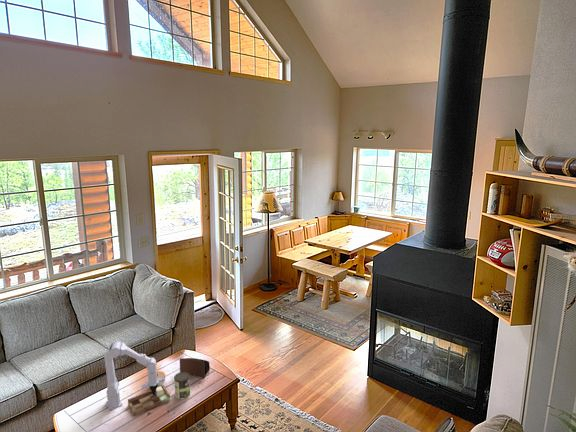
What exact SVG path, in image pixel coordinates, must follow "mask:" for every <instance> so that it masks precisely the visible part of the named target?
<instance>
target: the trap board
mask: <svg viewBox="0 0 576 432" xmlns="http://www.w3.org/2000/svg"><path fill="white" fill-rule="evenodd" d="M161 387H162V389H163V395H161V396H158V397H157V395H156V394H155V395H153V394H152V391H151V389H150V390H148V391H146V392H143V393H141V394H138V395H136V396H134V397H131V398H129V399H127V404H128V405H127V406H128V407H129V409H130V411H131V413H132V415H133V416H137V415H139V414H141V413H145V412H146V411H149V410H151V409H154V408H156V407H158V406H160V405H162V404H165V403H167V402H169V401H171V394H170V393H169V391H168V390H167V389H166V388H165V387H166V386H164V385H162V386H161ZM155 401H156V402H155Z"/></svg>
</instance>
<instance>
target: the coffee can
mask: <svg viewBox="0 0 576 432" xmlns="http://www.w3.org/2000/svg"><path fill="white" fill-rule="evenodd" d="M190 378H191V376H190V375H189V373H187V372H180V371H179V372H178V373H176V374H174V377H173V380H174V381H173V383H174V397H175V399H178V400H184V399H187V398H189V396H190V395H191V382H190Z"/></svg>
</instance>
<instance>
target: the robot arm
mask: <svg viewBox="0 0 576 432" xmlns="http://www.w3.org/2000/svg"><path fill="white" fill-rule="evenodd" d="M124 355H126V356H127V357H130V358H133V359H135V360H136V362H137V363H138V364H140V365H142V366H144V367H146V370H147V371H146V372H147V382H146V383H144V384H142V385H141V390H145V389H146V388H149V389H150V390H151V391H152V394H153V395H155V392H156V389H157V387H158V383H159V382H161V381H162V382H163V381H164V378H163V377H162V378H158V379H157V360H156V358H155V357H149V356H147V355H146V354H145V353H139V352H136V351H135V350H134V349H131V348H130V347H129V346H127V345H126V343H124V342H122V341H121V340H115V341H113V342H112V343H111V344H110V345H109V347H108V349H107V351H106V352H105V354H104V365H105V366H104V367H105V372H106V378H107V379H106V380H107V384H106V385H107V386H106V401H105V403H106V406H107V408H108V410H109V411H111V410H114V409H116V408H119V407H122V406H123V402H122V401H121V396H120V390H119V385H120V382H119V381H118V379H117V376H116V371H115V364H114V362H115V361H114V359H115V358H118V357H119V356H120V357H121V356H124Z"/></svg>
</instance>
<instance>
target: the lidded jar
mask: <svg viewBox="0 0 576 432" xmlns="http://www.w3.org/2000/svg"><path fill="white" fill-rule="evenodd" d="M156 371H157V370H156ZM162 377H163V378H164V381H163V382H162V381H161V382H159V383H158V387H160V386H164V384H165V381H166V373H165V372H164V371H161V370H160V371H157V379H158V378H162ZM158 387H157V388H158Z"/></svg>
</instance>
